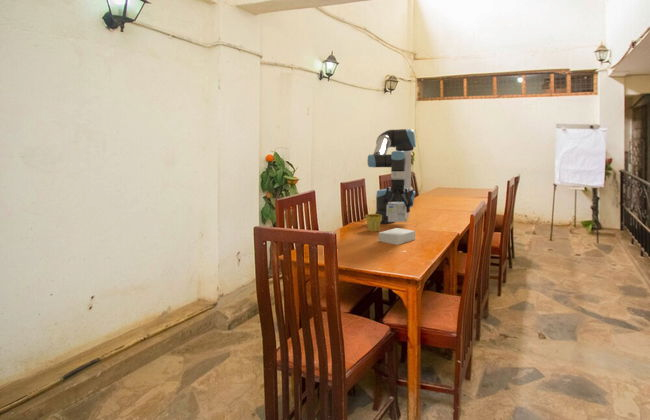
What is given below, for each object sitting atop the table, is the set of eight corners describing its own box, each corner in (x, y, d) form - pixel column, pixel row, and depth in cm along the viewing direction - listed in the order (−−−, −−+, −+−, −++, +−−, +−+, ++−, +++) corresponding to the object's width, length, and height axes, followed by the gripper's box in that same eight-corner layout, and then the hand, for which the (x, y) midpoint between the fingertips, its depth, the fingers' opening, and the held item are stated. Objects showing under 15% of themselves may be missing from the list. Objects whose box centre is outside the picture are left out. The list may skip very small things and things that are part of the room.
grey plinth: (378, 241, 229) (378, 232, 228) (396, 236, 241) (396, 227, 240) (397, 244, 220) (397, 235, 219) (415, 239, 232) (415, 230, 231)
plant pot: (377, 232, 251) (377, 217, 249) (362, 231, 256) (362, 216, 255) (384, 229, 259) (384, 214, 258) (369, 228, 265) (369, 213, 263)
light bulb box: (406, 220, 231) (406, 201, 229) (407, 222, 224) (407, 203, 223) (387, 219, 232) (387, 201, 230) (388, 222, 226) (388, 203, 224)
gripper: (376, 178, 231) (376, 215, 234) (412, 180, 213) (411, 220, 217) (384, 177, 236) (384, 213, 239) (420, 179, 219) (419, 218, 222)
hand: (397, 216), depth 228 cm, fingers closed on light bulb box, 12 cm apart
